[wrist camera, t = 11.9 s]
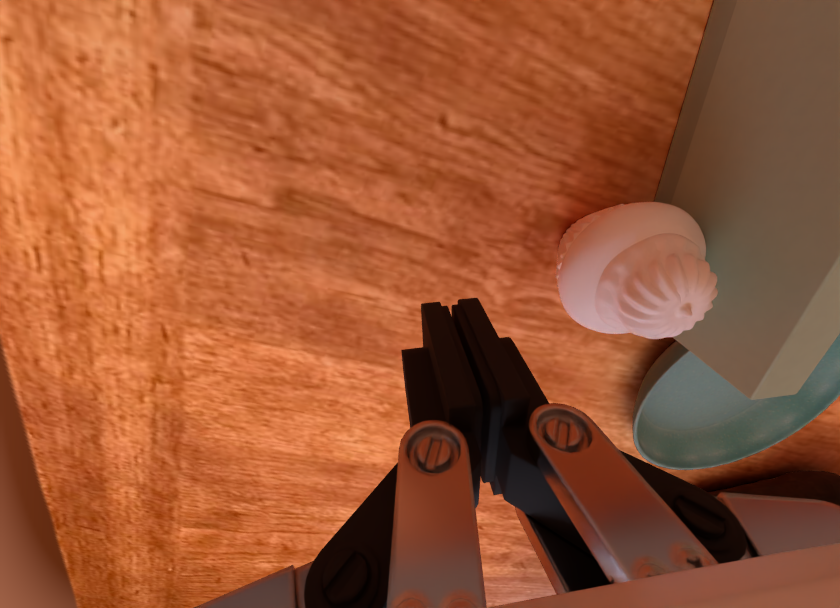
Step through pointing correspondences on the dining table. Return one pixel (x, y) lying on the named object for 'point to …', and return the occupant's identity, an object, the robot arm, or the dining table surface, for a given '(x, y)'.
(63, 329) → the dining table surface
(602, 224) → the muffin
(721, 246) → the wall
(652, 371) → the saucer
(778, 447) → the dining table surface
